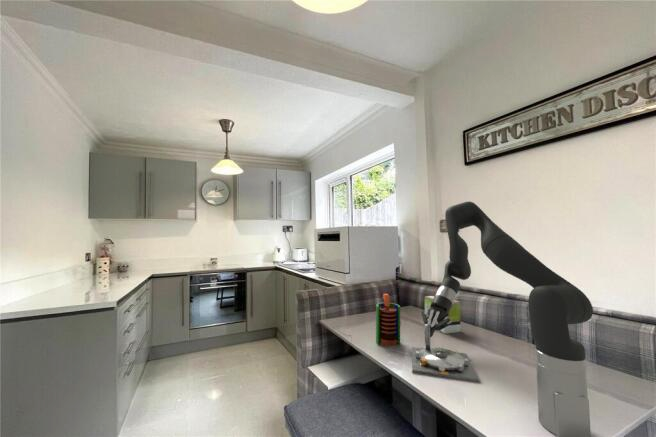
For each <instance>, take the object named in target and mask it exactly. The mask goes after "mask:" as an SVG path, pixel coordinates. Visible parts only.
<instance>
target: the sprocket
mask: <svg viewBox="0 0 656 437" xmlns="http://www.w3.org/2000/svg"><path fill="white" fill-rule="evenodd" d="M424 332H425V334H424V346H422V347H421V348H422V350H420V351H416V357H418V358H419V359H420V360H421V364H423V365H424V366H425V365H428V366H431V367H434V368H437V369H439V371H445V370H458V371H463V370H464V366H465V365H468V359H465V358H463V357H462V356H461V353H462V352H460V351H457V350H456V351H454V350H450V349H446V348H444V347H443V346H442V347H441V346H437V347H431V338H430V325H429V324H424Z"/></svg>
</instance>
